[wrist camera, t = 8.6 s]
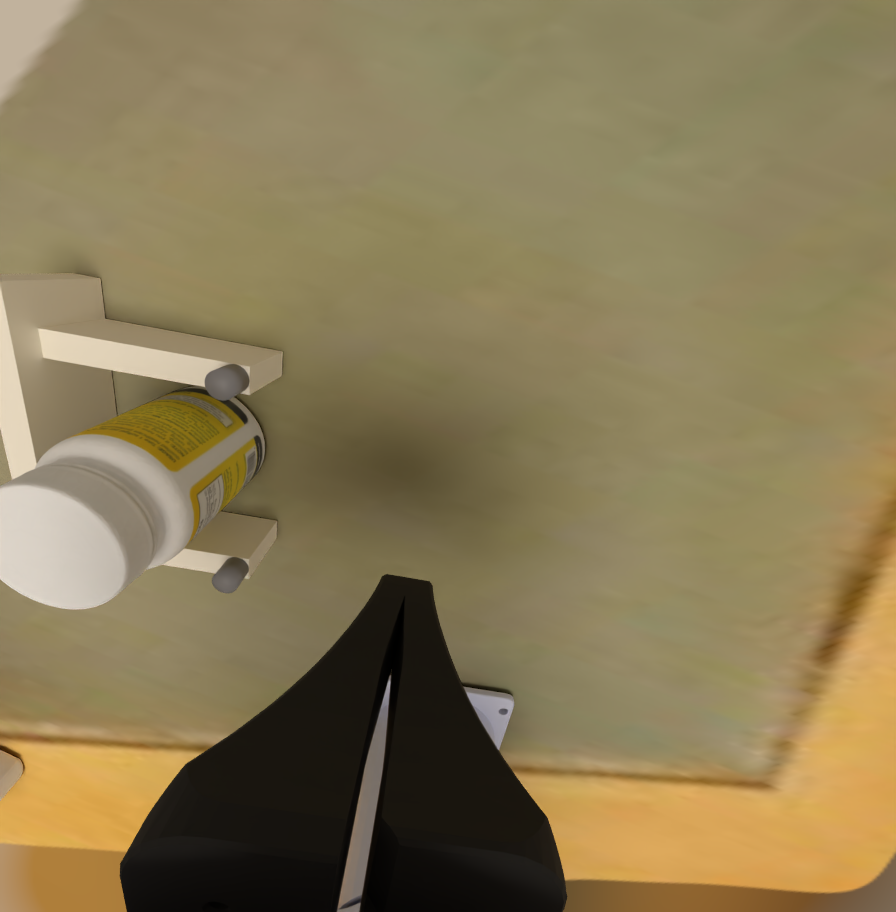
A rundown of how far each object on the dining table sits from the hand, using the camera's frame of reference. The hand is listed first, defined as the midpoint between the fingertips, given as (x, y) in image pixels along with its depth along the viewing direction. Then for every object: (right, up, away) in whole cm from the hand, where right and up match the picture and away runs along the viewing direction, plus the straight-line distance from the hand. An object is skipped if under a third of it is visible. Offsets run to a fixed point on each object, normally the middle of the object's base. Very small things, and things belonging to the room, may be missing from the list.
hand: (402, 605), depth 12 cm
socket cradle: (-10, +5, +7) cm, 13 cm away
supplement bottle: (-9, +5, +7) cm, 12 cm away
